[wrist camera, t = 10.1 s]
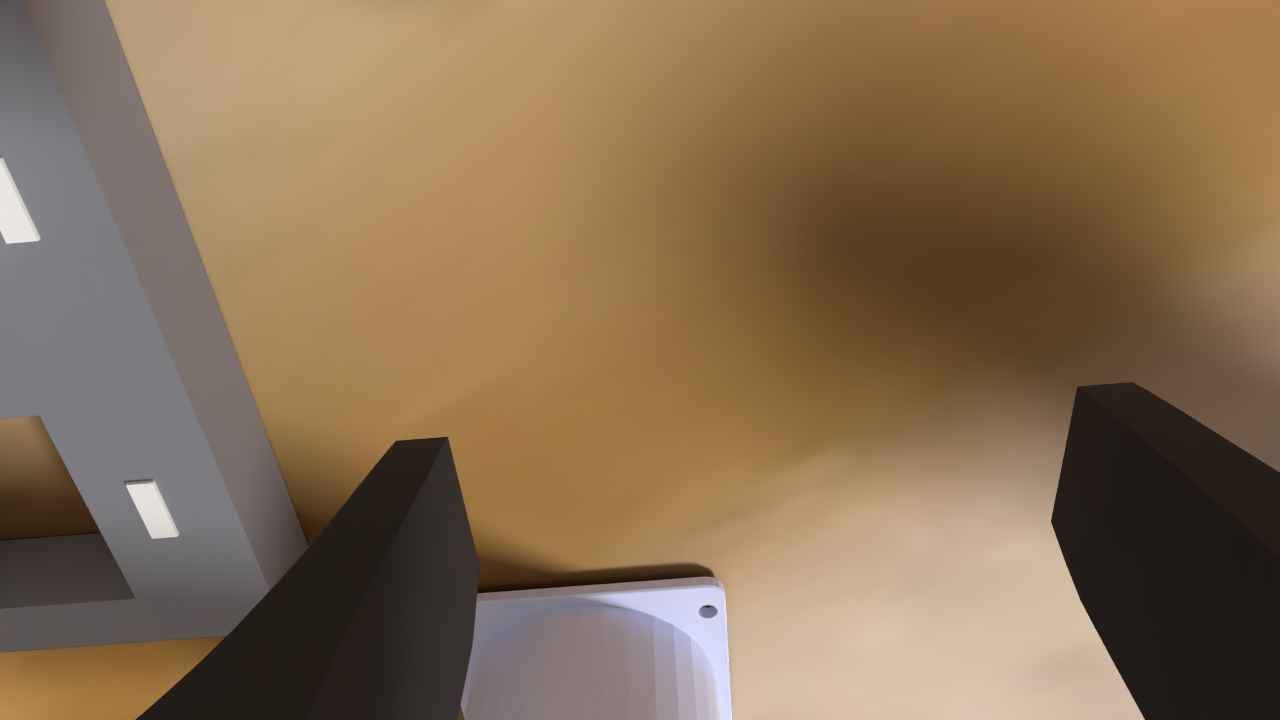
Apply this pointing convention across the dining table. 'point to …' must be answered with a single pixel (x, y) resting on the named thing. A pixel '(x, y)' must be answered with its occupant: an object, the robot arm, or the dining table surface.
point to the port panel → (120, 362)
